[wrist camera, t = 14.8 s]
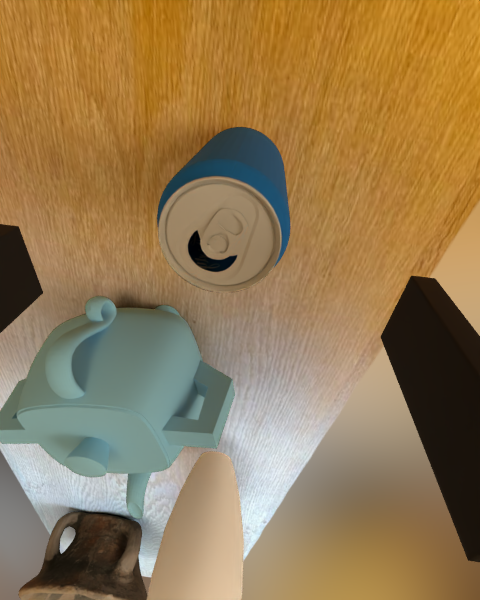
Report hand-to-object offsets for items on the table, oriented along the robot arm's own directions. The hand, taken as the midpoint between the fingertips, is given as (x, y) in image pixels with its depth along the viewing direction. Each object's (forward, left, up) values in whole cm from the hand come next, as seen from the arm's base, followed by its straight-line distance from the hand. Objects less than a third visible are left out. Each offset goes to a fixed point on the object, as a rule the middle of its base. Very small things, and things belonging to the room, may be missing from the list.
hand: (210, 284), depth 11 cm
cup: (0, +39, -16) cm, 42 cm away
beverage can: (0, 0, -16) cm, 16 cm away
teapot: (+9, +21, -16) cm, 28 cm away
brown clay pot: (+23, +83, -16) cm, 88 cm away
